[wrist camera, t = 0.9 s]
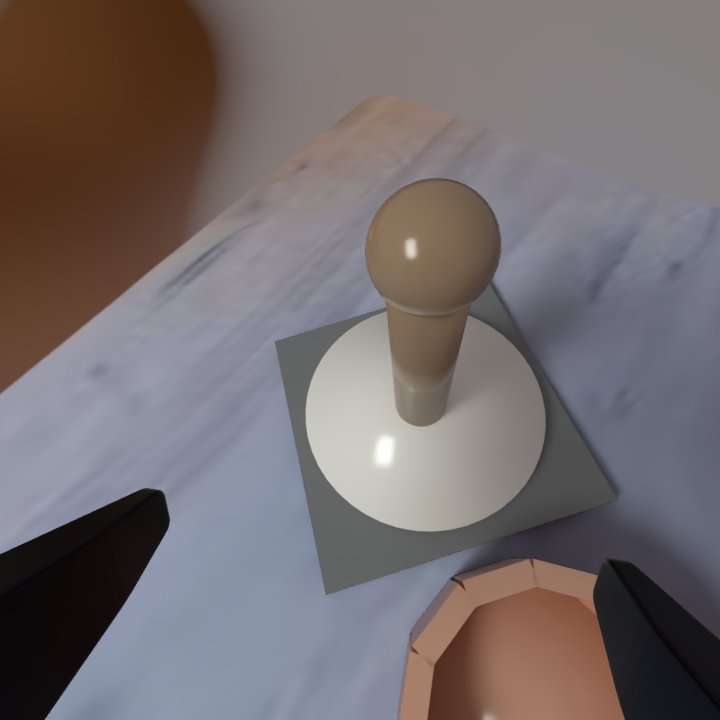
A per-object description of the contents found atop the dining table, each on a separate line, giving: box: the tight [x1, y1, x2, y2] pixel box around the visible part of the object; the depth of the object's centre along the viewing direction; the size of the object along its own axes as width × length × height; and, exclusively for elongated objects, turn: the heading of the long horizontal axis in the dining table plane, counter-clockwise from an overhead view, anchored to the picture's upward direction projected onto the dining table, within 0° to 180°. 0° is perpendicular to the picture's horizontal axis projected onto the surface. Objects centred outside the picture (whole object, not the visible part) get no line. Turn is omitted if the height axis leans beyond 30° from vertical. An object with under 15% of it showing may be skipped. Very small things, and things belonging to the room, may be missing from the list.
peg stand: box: [306, 178, 546, 532], centre depth 16 cm, size 14×14×16 cm
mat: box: [275, 284, 618, 595], centre depth 23 cm, size 16×16×1 cm
